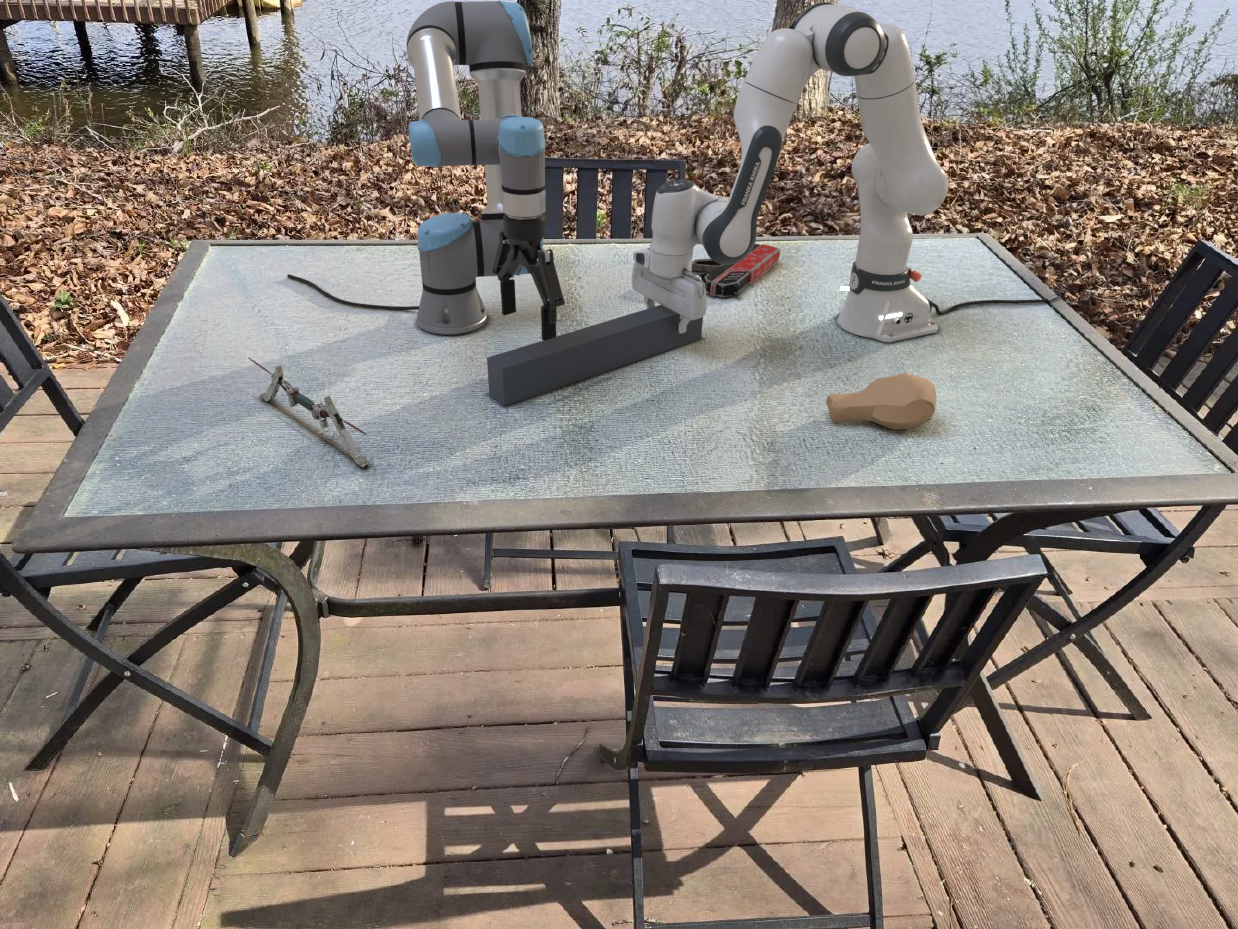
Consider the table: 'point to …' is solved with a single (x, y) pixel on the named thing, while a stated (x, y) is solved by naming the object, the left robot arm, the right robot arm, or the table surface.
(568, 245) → the table surface
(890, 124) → the right robot arm
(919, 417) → the squash
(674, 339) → the beam
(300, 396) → the bow
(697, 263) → the gun
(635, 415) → the table surface
